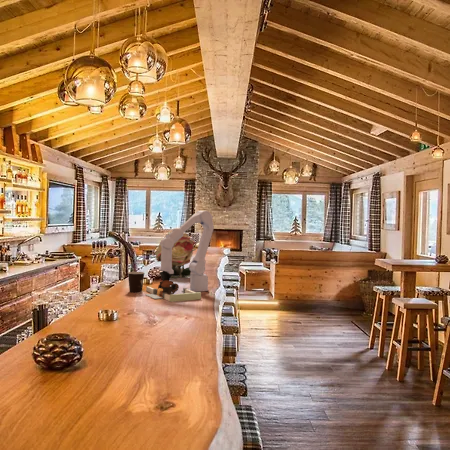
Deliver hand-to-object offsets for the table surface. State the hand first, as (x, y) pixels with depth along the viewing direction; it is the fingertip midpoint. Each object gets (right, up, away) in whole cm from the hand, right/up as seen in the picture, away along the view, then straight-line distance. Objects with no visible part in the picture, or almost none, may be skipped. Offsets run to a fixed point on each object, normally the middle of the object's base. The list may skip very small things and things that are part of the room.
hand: (165, 285), depth 236 cm
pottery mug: (+2, -4, -7) cm, 8 cm away
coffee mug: (-15, -3, 0) cm, 15 cm away
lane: (+4, -4, -8) cm, 9 cm away
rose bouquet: (-1, -2, +61) cm, 61 cm away
